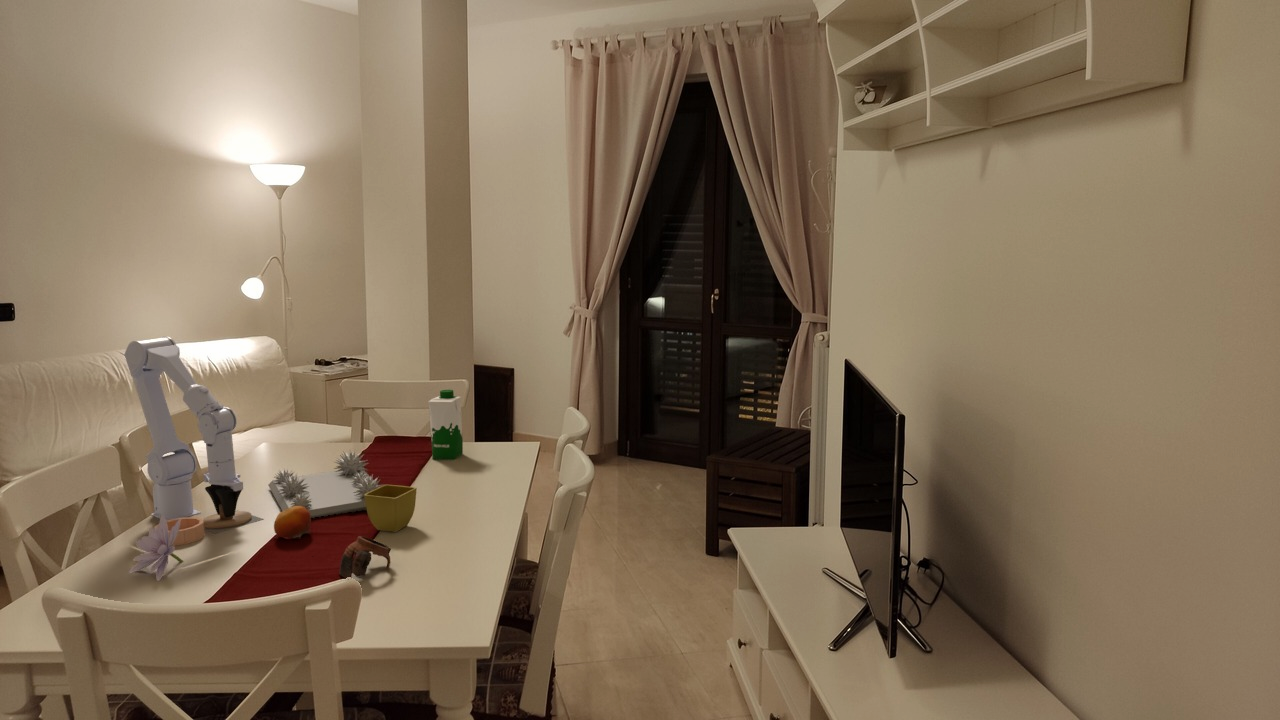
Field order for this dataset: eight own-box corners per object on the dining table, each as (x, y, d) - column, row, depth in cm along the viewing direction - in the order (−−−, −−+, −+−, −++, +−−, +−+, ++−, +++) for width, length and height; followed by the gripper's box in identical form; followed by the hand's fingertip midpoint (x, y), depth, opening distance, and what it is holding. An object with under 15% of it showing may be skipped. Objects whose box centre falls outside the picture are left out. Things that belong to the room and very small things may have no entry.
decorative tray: (268, 490, 240) (265, 455, 238) (365, 475, 252) (363, 441, 251) (288, 527, 210) (284, 486, 208) (397, 508, 222) (394, 469, 221)
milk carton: (466, 453, 274) (463, 389, 271) (455, 460, 265) (452, 395, 262) (439, 452, 275) (436, 389, 272) (428, 460, 266) (424, 394, 263)
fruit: (306, 537, 197) (287, 506, 197) (281, 553, 199) (261, 523, 199) (326, 525, 205) (308, 495, 204) (301, 540, 207) (283, 511, 206)
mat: (189, 525, 211) (189, 523, 211) (237, 512, 220) (237, 510, 220) (215, 535, 204) (215, 533, 204) (264, 520, 213) (263, 519, 213)
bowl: (147, 541, 201) (145, 526, 200) (191, 529, 208) (190, 514, 208) (168, 550, 195) (166, 535, 194) (213, 537, 202) (211, 522, 202)
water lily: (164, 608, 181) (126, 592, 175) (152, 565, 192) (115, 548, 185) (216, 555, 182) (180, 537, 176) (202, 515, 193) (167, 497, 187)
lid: (192, 523, 211) (190, 506, 210) (236, 511, 220) (235, 494, 219) (216, 532, 204) (214, 514, 204) (260, 519, 213) (259, 501, 212)
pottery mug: (337, 569, 183) (355, 531, 184) (381, 586, 184) (398, 548, 186) (330, 576, 171) (349, 536, 173) (377, 594, 172) (395, 553, 174)
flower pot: (419, 523, 208) (417, 486, 207) (398, 536, 200) (395, 497, 199) (388, 520, 211) (385, 484, 210) (365, 532, 203) (362, 494, 202)
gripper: (253, 460, 209) (258, 515, 211) (221, 452, 217) (226, 505, 219) (224, 467, 203) (229, 524, 205) (192, 458, 212) (198, 513, 214)
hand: (226, 515), depth 212 cm, fingers closed on lid, 3 cm apart
